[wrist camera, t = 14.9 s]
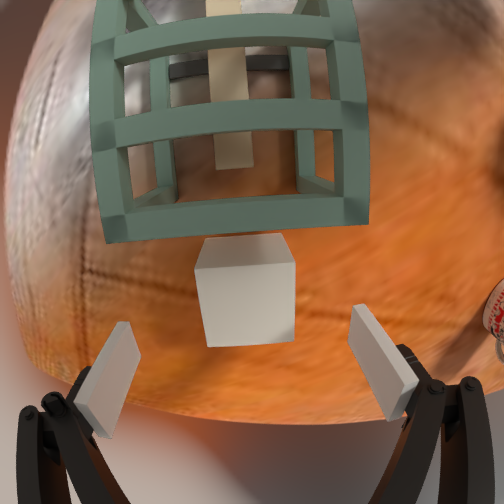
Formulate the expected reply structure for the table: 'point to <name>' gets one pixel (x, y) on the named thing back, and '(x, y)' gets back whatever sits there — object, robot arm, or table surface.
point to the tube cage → (227, 118)
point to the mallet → (229, 92)
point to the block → (246, 290)
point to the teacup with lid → (496, 318)
